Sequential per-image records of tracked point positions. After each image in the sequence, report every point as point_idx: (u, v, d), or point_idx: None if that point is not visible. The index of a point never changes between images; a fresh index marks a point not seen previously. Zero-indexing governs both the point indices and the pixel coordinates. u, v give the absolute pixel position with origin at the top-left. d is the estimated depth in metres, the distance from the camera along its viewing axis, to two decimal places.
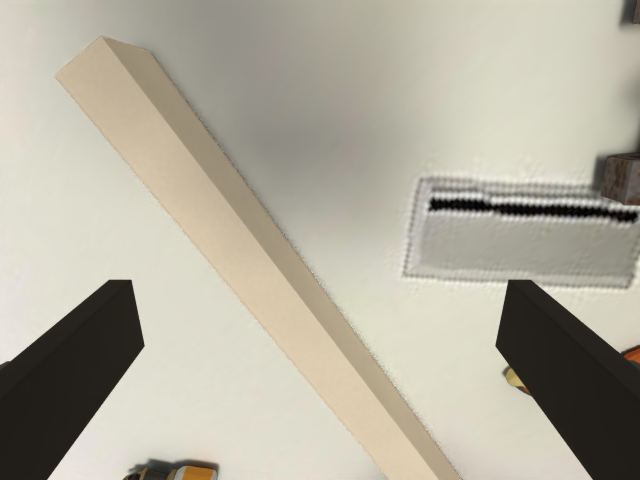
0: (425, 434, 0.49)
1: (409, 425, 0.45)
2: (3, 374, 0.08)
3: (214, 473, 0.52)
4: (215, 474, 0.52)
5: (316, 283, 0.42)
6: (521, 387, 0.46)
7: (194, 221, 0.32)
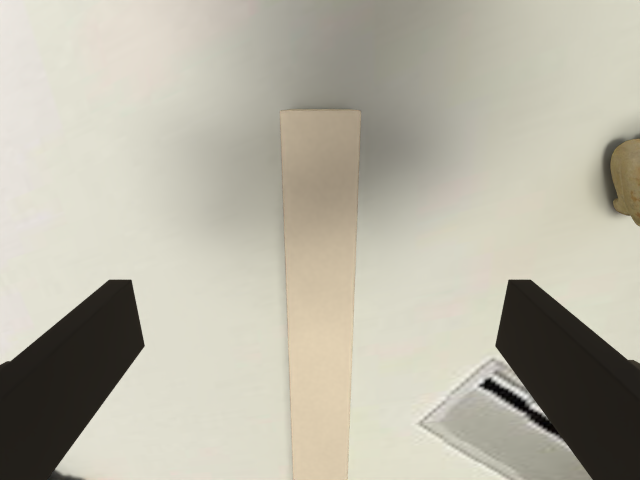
0: None
1: None
2: (3, 374, 0.08)
3: None
4: None
5: None
6: None
7: (306, 319, 0.27)
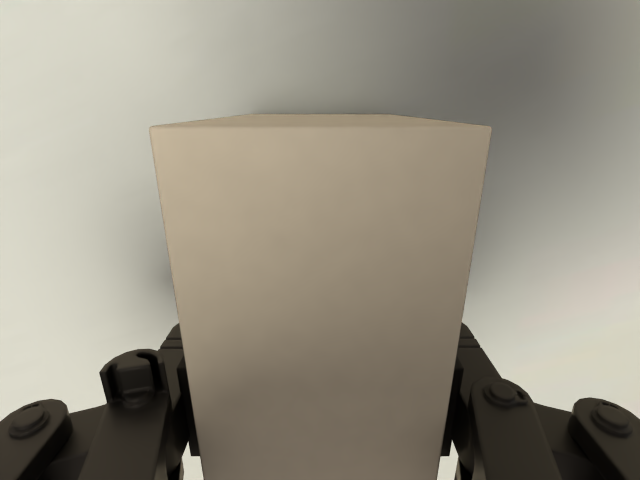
0: None
1: None
2: None
3: None
4: None
5: None
6: None
7: None
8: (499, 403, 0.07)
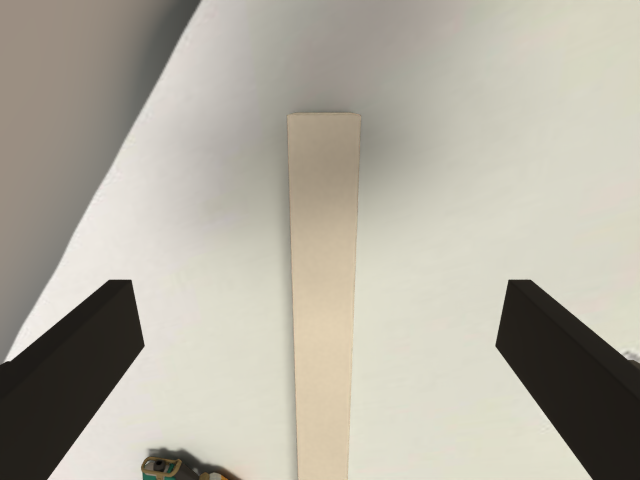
0: None
1: None
2: (3, 374, 0.08)
3: None
4: None
5: None
6: None
7: (310, 307, 0.30)
8: None
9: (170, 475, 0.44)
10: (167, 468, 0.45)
